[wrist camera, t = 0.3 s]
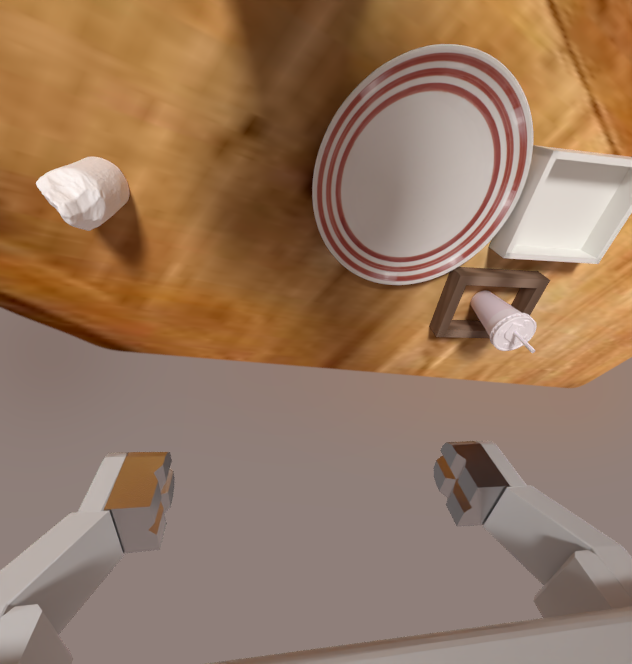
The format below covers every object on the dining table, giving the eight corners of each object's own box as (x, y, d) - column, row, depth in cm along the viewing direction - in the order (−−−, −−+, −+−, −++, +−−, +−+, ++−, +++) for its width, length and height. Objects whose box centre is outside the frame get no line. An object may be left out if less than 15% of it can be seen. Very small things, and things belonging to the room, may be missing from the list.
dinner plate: (512, 243, 51) (526, 251, 48) (340, 299, 54) (344, 311, 51) (527, 2, 35) (548, -4, 32) (277, 100, 37) (278, 102, 35)
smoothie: (497, 276, 54) (556, 327, 43) (503, 305, 58) (559, 359, 47) (458, 294, 55) (506, 348, 44) (466, 321, 59) (512, 377, 48)
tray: (488, 246, 51) (503, 258, 48) (532, 145, 43) (553, 150, 40) (578, 252, 53) (598, 263, 50) (635, 157, 45) (663, 163, 42)
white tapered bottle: (0, 207, 29) (35, 164, 28) (65, 176, 39) (95, 143, 37) (67, 257, 33) (103, 220, 31) (113, 217, 42) (142, 187, 41)
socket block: (429, 326, 59) (436, 337, 56) (451, 266, 52) (460, 275, 50) (506, 328, 61) (516, 338, 59) (537, 271, 54) (550, 280, 52)
